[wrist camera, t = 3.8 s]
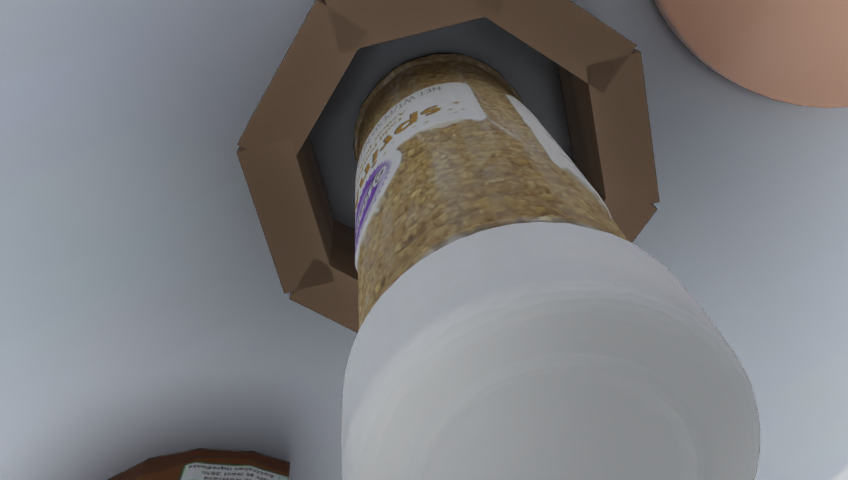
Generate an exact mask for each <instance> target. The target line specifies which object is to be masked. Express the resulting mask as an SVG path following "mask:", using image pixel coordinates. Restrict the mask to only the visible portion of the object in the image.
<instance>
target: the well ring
mask: <svg viewBox="0 0 848 480" xmlns="http://www.w3.org/2000/svg"><path fill="white" fill-rule="evenodd" d="M482 17H486V18H487V19H489V20H490V21H492V22H494V23H495V24H497V25H498V26H500V27H501V28H503V29H504V30H506V31H507V32H509V33H511V34H512V35H514V36H515V37H517V38H518V39H520V40H521V41H523V42H524V43H526V44H528V45H529V46H531V47H532V48H534V49H535V50H537V51H538V52H540V53H541V54H543V55H545V56H546V57H548V58H549V59H551V60H552V61H554V62H555V63H557V64H558V67H559V73H560V79H561V85H562V91H563V97H564V103H565V109H566V115H567V121H568V127H569V133H570V139H571V145H572V151H573V157H574V161H573V163H574V164H575V166H576V167H577V168H578V169H579V171H580V172H581V173H582V174H583V176H584V177H585V178H586V179H587V181H588V182H589V183H590V184H591V186H592V187H593V188H594V189H595V191H596V192H597V193H598V194H599V196H600V197H601V199H602V200H603V202H604V203H605V205H606V206H607V208H608V210H609V212H610V214H611V217H612V219H613V221H614V222H615V223H616V224H617V226H618V228H619V229H620V230H621V231H622V233H623V234H624V235H625V237H626V239H627V240H628V241H629V242H631V243H632V242H633V241H634V240H635V238H636V237H637V236H638V234H639V233H640V232H641V230H642V229H643V228H644V226H645V225H646V224H647V222H648V221H649V220H650V218H651V217H652V216H653V214H654V213H655V212H656V210H657V208H656V207H655V206H654V205H653V203H657V202H659V194H658V186H657V178H656V170H655V162H654V154H653V146H652V138H651V130H650V122H649V114H648V106H647V98H646V90H645V82H644V74H643V66H642V58H641V52H640V51H638V50H636V49H634V48H635V47H636V46H637V45H636V44H634V43H633V42H631V41H630V40H628V39H627V38H625V37H624V36H622V35H621V34H619V33H618V32H616V31H615V30H613V29H612V28H610V27H609V26H607V25H606V24H604V23H603V22H601V21H600V20H599V19H597V18H596V17H594V16H593V15H591V14H590V13H588V12H587V11H585V10H584V9H582V8H581V7H579V6H578V5H576V4H575V3H573V2H572V1H570V0H315V2H314V4H313V6H312V8H311V10H310V11H309V13H308V15H307V17H306V19H305V20H304V22H303V24H302V26H301V28H300V30H299V31H298V33H297V35H296V37H295V39H294V40H293V42H292V44H291V46H290V48H289V50H288V51H287V53H286V55H285V57H284V59H283V60H282V62H281V64H280V66H279V68H278V70H277V71H276V73H275V75H274V77H273V79H272V80H271V82H270V84H269V86H268V88H267V90H266V91H265V93H264V95H263V97H262V99H261V100H260V102H259V104H258V106H257V108H256V110H255V111H254V113H253V115H252V117H251V119H250V121H249V123H248V125H247V127H246V129H245V131H244V132H243V134H242V136H241V138H240V140H239V142H238V144H237V145H239V148H238V150H237V155H238V158H239V161H240V164H241V167H242V170H243V173H244V176H245V178H246V181H247V184H248V187H249V190H250V193H251V196H252V199H253V202H254V205H255V208H256V211H257V214H258V217H259V220H260V223H261V226H262V229H263V232H264V235H265V238H266V241H267V244H268V246H269V249H270V252H271V255H272V258H273V261H274V264H275V267H276V270H277V273H278V276H279V279H280V282H281V285H282V288H283V291H284V293H288V292H290V297H289V299H291V300H293V301H295V302H297V303H299V304H301V305H303V306H305V307H307V308H309V309H311V310H313V311H315V312H317V313H319V314H321V315H323V316H325V317H327V318H329V319H331V320H333V321H335V322H337V323H339V324H341V325H343V326H345V327H347V328H349V329H351V330H353V331H355V332H357V333H358V329H359V310H358V295H359V285H358V272H357V270H356V266H355V230H353V229H351V228H349V227H347V226H345V225H343V224H342V223H340V222H338V221H336V220H334V218H333V215H332V212H331V208H330V205H329V202H328V198H327V195H326V192H325V188H324V185H323V182H322V178H321V175H320V172H319V168H318V165H317V162H316V158H315V155H314V151H313V148H312V145H311V141H310V138H309V133H310V131H311V130H312V128H313V126H314V124H315V123H316V121H317V119H318V117H319V116H320V114H321V112H322V111H323V109H324V107H325V105H326V104H327V102H328V100H329V98H330V97H331V95H332V93H333V92H334V90H335V88H336V86H337V85H338V83H339V81H340V79H341V78H342V76H343V74H344V73H345V71H346V69H347V67H348V66H349V64H350V62H351V60H352V59H353V57H354V55H355V54H356V52H357V50H358V48H362V47H366V46H370V45H374V44H378V43H382V42H386V41H390V40H394V39H398V38H402V37H406V36H410V35H414V34H418V33H422V32H426V31H430V30H434V29H438V28H442V27H446V26H450V25H454V24H458V23H462V22H466V21H470V20H474V19H478V18H482Z"/></svg>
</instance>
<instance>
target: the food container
mask: <svg viewBox="0 0 848 480" xmlns="http://www.w3.org/2000/svg"><path fill="white" fill-rule="evenodd" d="M289 471H290V462H287V461H283V460H280V459H276V458H273V457H270V456H266V455H263V454H260V453H256V452H252V451H236V450H219V449H203V448H199V449H194V450H189V451H184V452H179V453H174V454H168V455H163V456H158V457H153V458H149V459H147V460H145V461H143V462H141V463H139V464H137V465H136V466H134V467H132V468H130V469H128V470H126V471H124V472H122V473H120V474H118V475H116V476H114V477H112V478H110V479H108V480H289Z"/></svg>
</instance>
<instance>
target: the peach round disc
mask: <svg viewBox="0 0 848 480" xmlns="http://www.w3.org/2000/svg"><path fill="white" fill-rule="evenodd" d="M654 2H655V4H656V6H657V8H658V10H659V12H660V13H661V15H662V16H663V18H664V19H665V21H666V22H667V24H668V25H669V27H670V28H671V30H672V31H673V32H674V34H675V35H676V36H677V37H678V38H679V40H680V41H681V42H682V43H683V44H684V45H685V46H686V47H687V48H688V49H689V50H690V52H691V53H692V54H693V55H695V56H696V57H697V58H698V59H700V60H701V61H702V62H703V63H705V64H706V65H707V66H708V67H710V68H711V69H712V70H713V71H715V72H717V73H718V74H720V75H722V76H724V77H725V78H727V79H729V80H731V81H732V82H734V83H736V84H738V85H740V86H742V87H744V88H746V89H748V90H751V91H753V92H756V93H758V94H761V95H764V96H766V97H769V98H771V99H774V100H778V101H782V102H787V103H791V104H795V105H800V106H811V107H822V108H835V107H848V0H654Z"/></svg>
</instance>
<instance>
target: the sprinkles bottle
mask: <svg viewBox="0 0 848 480" xmlns="http://www.w3.org/2000/svg"><path fill="white" fill-rule="evenodd" d="M354 153H355V159H356V163H357V172H356V181H355V266H356V270H357V272H358V285H359V295H358V310H359V329H358V334H357V336H356V338H355V341H354V343H353V346H352V348H351V351H350V355H349V359H348V362H347V366H346V370H345V376H344V386H343V400H342V434H341V471H342V480H754V478H755V475H756V472H757V466H758V459H759V452H760V423H759V416H758V408H757V405H756V401H755V397H754V393H753V390H752V387H751V384H750V381H749V379H748V376H747V374H746V372H745V370H744V368H743V366H742V365H741V363H740V361H739V359H738V358H737V356H736V354H735V353H734V351H733V350H732V348H731V347H730V346H729V344H728V343H727V342H726V340H725V339H724V337H723V336H722V335H721V333H720V332H719V331H718V329H717V328H716V327H715V325H714V324H713V322H712V321H711V320H710V318H709V317H708V316H707V314H706V313H705V312H704V310H703V309H702V308H701V307H700V306H699V304H698V303H697V302H696V301H695V300H694V298H693V297H692V296H691V295H690V293H689V292H688V291H687V290H686V289H685V287H684V286H683V285H682V284H681V283H680V281H679V280H678V279H677V278H676V277H675V276H674V275H673V274H672V273H671V272H670V271H669V270H668V269H667V268H666V267H665V266H664V265H663V264H662V263H660V262H659V261H658V260H656V259H655V258H654V257H652V256H651V255H650V254H648V253H647V252H645V251H644V250H642V249H641V248H639V247H638V246H636V245H635V244H633V243H631V242H629V241H628V240H627V239H626V237H625V235H624V234H623V233H622V231H621V230H620V229H619V228H618V226H617V224H616V223H615V222H614V221H613V219H612V217H611V214H610V212H609V210H608V208H607V206H606V205H605V203H604V202H603V200H602V199H601V197H600V196H599V194H598V193H597V192H596V191H595V189H594V188H593V187H592V186H591V184H590V183H589V182H588V181H587V179H586V178H585V177H584V176H583V174H582V173H581V172H580V171H579V169H578V168H577V167H576V166H575V164H574V163H573V162H572V161H571V159H570V158H569V157H568V156H567V155H566V153H565V152H564V151H563V150H562V148H561V147H560V146H559V145H558V144H557V142H556V141H555V140H554V139H553V138H552V136H551V135H550V134H549V133H548V132H547V130H546V129H545V128H544V127H543V126H542V124H541V123H540V122H539V121H538V119H537V118H536V117H535V116H534V115H533V114H532V112H531V111H530V110H529V109H527V108H526V107H525V106H524V105H523V103H522V100H521V98H520V97H519V95H518V93H517V92H516V91H515V89H514V88H513V87H512V86H511V85H510V84H509V83H508V82H507V81H506V80H505V79H504V78H503V77H502V76H501V74H500V73H499V72H498V71H496V70H495V69H493V68H491V67H489V66H487V65H486V64H484V63H482V62H480V61H478V60H475V59H473V58H471V57H468V56H464V55H458V54H434V55H429V56H427V57H421V58H417V59H415V60H412V61H408V62H406V63H404V64H402V65H400V66H399V67H397V68H395V69H394V70H392V71H391V72H390V73H389V74H388V75H386V76H385V77H384V78H383V79H382V80H381V81H380V82H379V83H378V84H377V85H376V86H375V88H374V89H373V91H372V92H371V93H370V94H369V95H368V97H367V99H366V100H365V102H364V103H363V104H362V106H361V109H360V112H359V115H358V119H357V121H356V123H355V131H354Z"/></svg>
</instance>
